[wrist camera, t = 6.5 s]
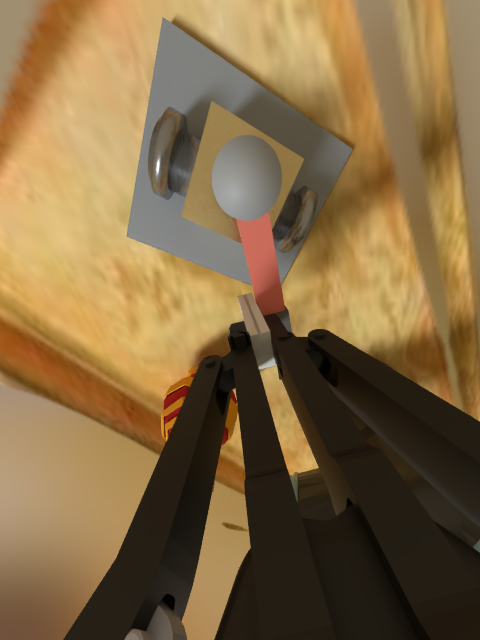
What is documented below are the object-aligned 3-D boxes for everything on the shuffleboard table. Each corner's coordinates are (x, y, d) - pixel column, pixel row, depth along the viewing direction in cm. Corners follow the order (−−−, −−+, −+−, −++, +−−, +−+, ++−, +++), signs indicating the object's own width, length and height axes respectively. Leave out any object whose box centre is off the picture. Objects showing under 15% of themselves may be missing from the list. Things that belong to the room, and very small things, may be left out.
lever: (203, 157, 12) (201, 147, 10) (267, 137, 12) (275, 124, 10) (258, 354, 20) (262, 368, 18) (297, 344, 20) (305, 357, 18)
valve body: (307, 190, 21) (355, 179, 14) (276, 254, 24) (302, 272, 17) (176, 114, 18) (145, 44, 10) (157, 199, 20) (123, 193, 13)
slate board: (347, 151, 20) (352, 149, 19) (273, 292, 27) (275, 294, 26) (166, 28, 15) (162, 16, 14) (130, 235, 22) (126, 236, 21)
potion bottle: (242, 389, 35) (257, 497, 22) (186, 404, 35) (166, 519, 22) (224, 342, 30) (229, 445, 17) (158, 360, 30) (112, 475, 17)
